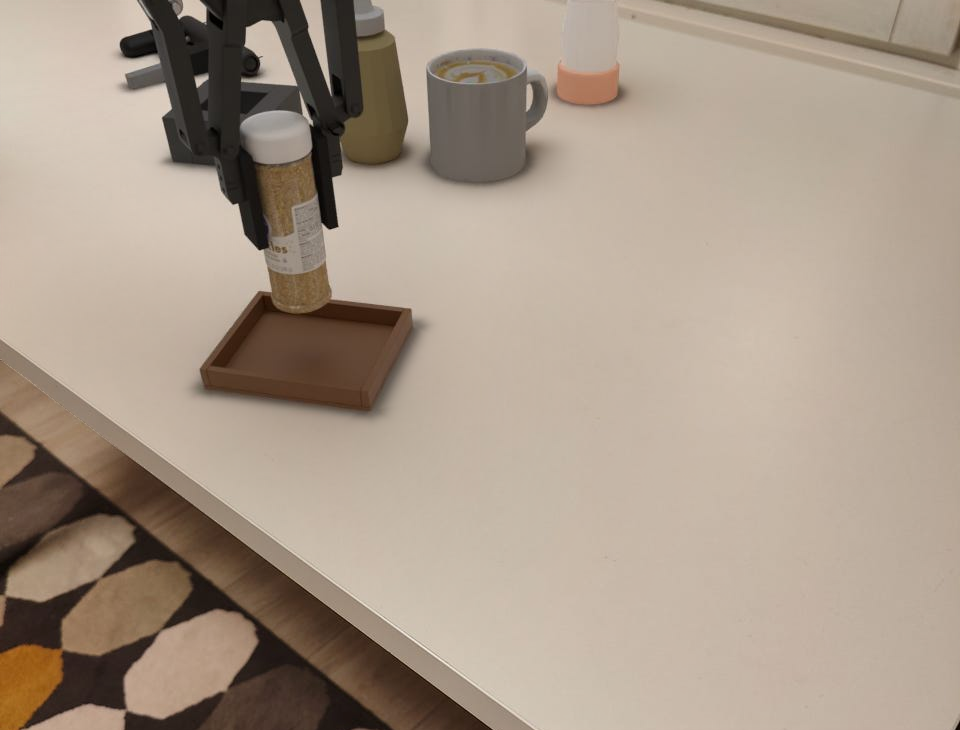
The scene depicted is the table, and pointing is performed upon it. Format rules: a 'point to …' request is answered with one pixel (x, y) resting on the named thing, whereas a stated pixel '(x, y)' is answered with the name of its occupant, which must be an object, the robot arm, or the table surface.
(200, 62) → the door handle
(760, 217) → the table surface
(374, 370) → the tray
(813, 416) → the table surface
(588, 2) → the pepper shaker
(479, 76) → the coffee mug
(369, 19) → the squeeze bottle
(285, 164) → the sprinkles bottle
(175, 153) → the socket base
